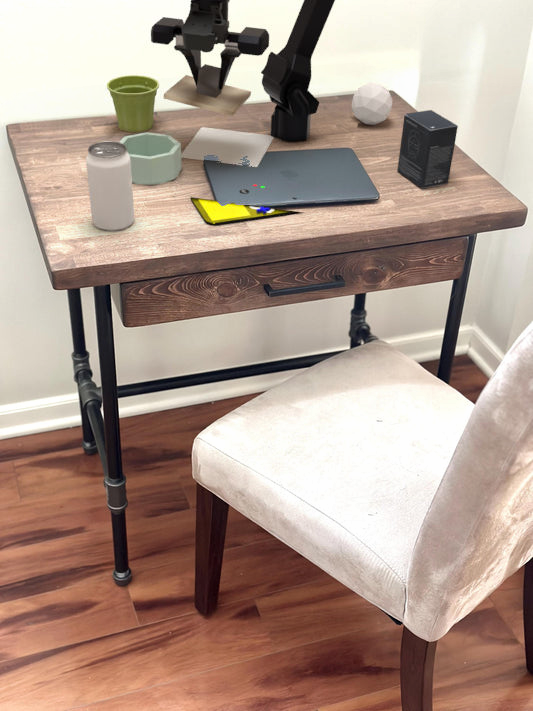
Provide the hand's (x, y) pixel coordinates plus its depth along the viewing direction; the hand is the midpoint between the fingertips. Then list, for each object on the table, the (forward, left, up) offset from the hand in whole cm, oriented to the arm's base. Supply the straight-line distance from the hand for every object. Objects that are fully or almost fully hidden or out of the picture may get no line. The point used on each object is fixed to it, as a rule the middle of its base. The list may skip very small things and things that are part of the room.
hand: (209, 87), depth 147 cm
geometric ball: (-25, -24, -13) cm, 37 cm away
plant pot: (+17, -7, -13) cm, 22 cm away
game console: (-11, +16, -13) cm, 23 cm away
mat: (-2, -3, -12) cm, 13 cm away
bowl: (+8, +11, -12) cm, 18 cm away
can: (+8, +28, -13) cm, 31 cm away
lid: (0, 0, -2) cm, 2 cm away
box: (-37, -2, -13) cm, 40 cm away
